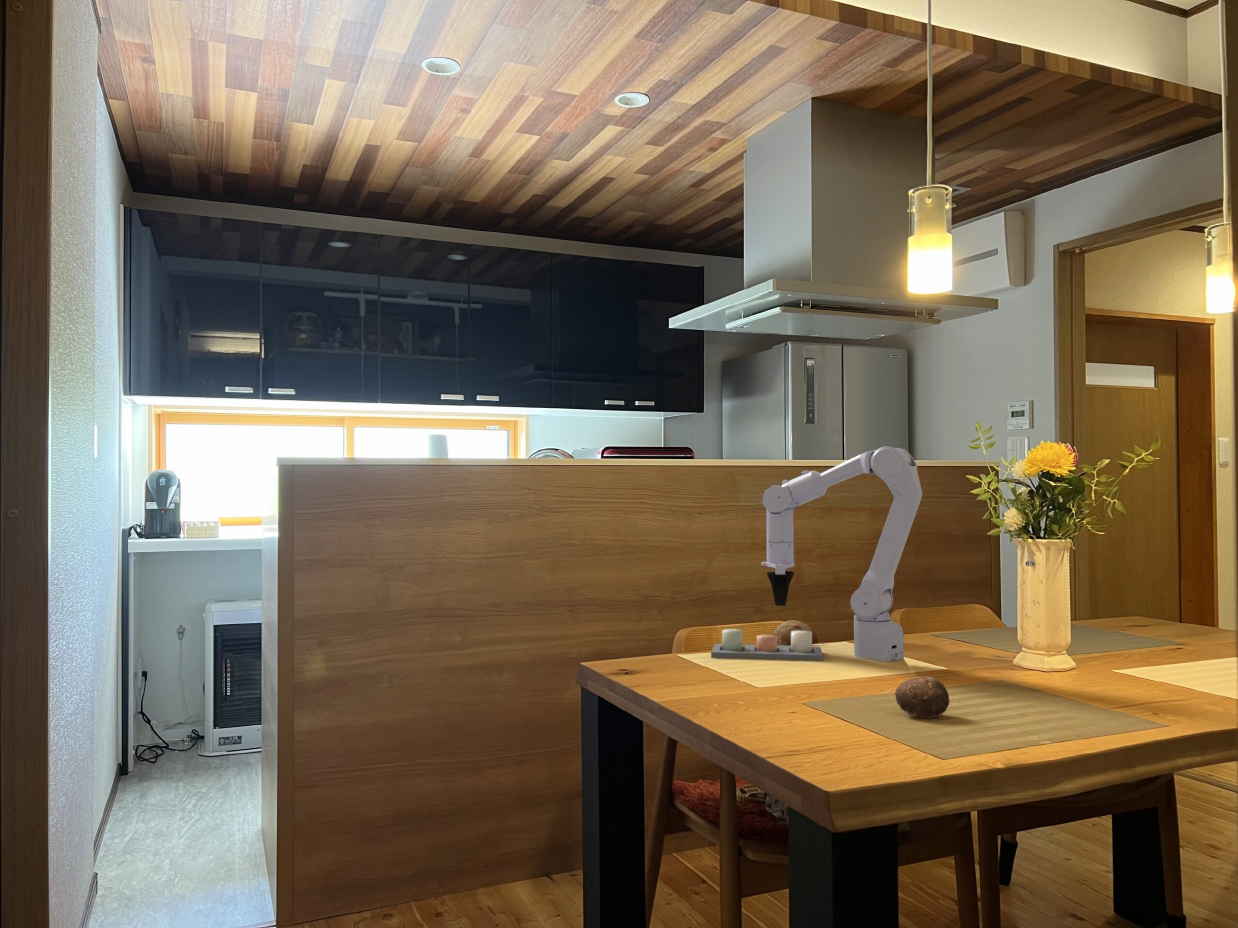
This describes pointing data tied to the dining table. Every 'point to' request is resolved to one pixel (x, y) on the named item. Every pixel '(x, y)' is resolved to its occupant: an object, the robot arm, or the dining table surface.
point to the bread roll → (792, 625)
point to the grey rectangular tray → (767, 653)
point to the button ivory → (801, 641)
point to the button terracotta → (766, 643)
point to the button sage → (732, 639)
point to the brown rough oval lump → (922, 697)
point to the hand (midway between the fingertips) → (780, 605)
